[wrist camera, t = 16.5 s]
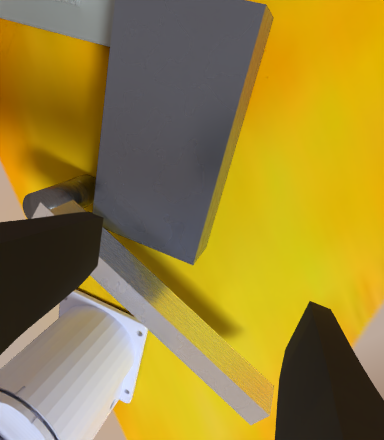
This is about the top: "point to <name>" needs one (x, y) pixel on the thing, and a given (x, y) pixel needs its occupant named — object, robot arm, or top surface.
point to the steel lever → (161, 308)
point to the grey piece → (174, 116)
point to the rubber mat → (64, 17)
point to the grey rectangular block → (70, 2)
